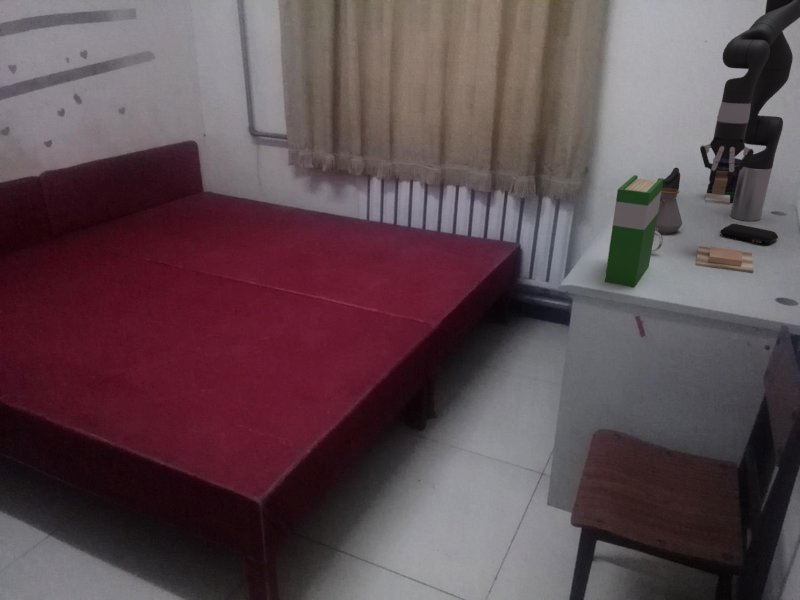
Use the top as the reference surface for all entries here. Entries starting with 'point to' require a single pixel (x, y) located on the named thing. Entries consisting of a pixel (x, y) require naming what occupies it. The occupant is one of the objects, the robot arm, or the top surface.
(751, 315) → the top surface
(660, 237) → the ring
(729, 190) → the storage jar
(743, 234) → the carrying case or bag
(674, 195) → the coffee pot
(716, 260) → the tile
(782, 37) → the robot arm
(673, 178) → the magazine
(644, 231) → the hardback book
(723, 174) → the brown rectangular block
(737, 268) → the board
